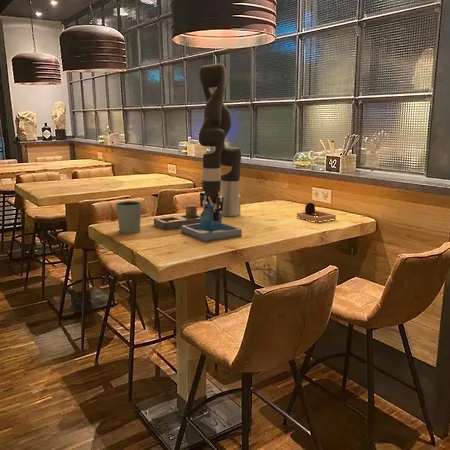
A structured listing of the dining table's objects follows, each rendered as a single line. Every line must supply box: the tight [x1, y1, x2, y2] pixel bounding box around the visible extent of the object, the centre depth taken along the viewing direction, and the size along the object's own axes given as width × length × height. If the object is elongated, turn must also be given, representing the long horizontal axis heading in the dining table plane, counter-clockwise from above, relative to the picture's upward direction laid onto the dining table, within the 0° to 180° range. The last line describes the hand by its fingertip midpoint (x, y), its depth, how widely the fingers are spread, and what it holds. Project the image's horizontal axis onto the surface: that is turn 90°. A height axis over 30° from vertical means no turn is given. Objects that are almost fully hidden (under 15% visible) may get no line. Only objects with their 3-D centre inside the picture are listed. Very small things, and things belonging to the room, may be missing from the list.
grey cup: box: [115, 200, 142, 235], centre depth 193 cm, size 10×10×12 cm
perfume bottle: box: [199, 201, 223, 232], centre depth 189 cm, size 6×6×12 cm
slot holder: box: [153, 213, 200, 231], centre depth 207 cm, size 22×10×3 cm, turn 126°
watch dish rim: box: [296, 209, 337, 222], centre depth 224 cm, size 13×13×2 cm
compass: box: [304, 202, 321, 217], centre depth 225 cm, size 8×8×7 cm
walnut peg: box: [185, 204, 198, 219], centre depth 210 cm, size 5×5×8 cm
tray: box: [180, 222, 243, 243], centre depth 191 cm, size 18×18×3 cm
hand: (211, 219), depth 190 cm, fingers closed on perfume bottle, 6 cm apart
